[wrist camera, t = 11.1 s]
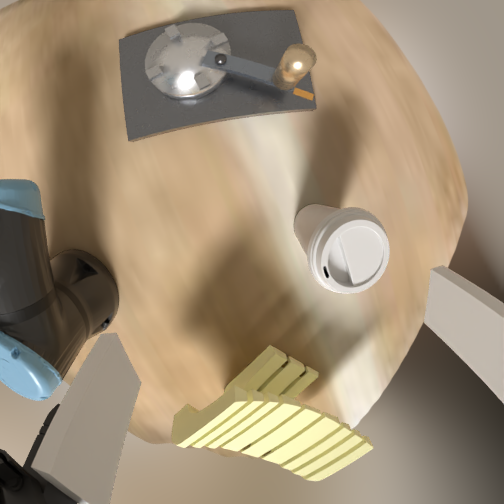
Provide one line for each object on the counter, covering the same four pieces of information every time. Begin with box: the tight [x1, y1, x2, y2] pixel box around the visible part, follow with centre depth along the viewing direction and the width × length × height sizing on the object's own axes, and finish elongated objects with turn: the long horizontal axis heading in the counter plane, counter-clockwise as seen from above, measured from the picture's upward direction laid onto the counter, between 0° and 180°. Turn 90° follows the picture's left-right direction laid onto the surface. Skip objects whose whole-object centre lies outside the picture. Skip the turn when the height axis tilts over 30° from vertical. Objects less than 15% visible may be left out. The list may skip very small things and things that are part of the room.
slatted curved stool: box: [172, 345, 374, 481], centre depth 41 cm, size 30×16×18 cm, turn 51°
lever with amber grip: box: [145, 23, 316, 100], centre depth 25 cm, size 20×11×12 cm, turn 72°
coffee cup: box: [294, 204, 390, 293], centre depth 34 cm, size 10×10×15 cm
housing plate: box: [119, 10, 316, 142], centre depth 31 cm, size 26×17×2 cm, turn 99°
